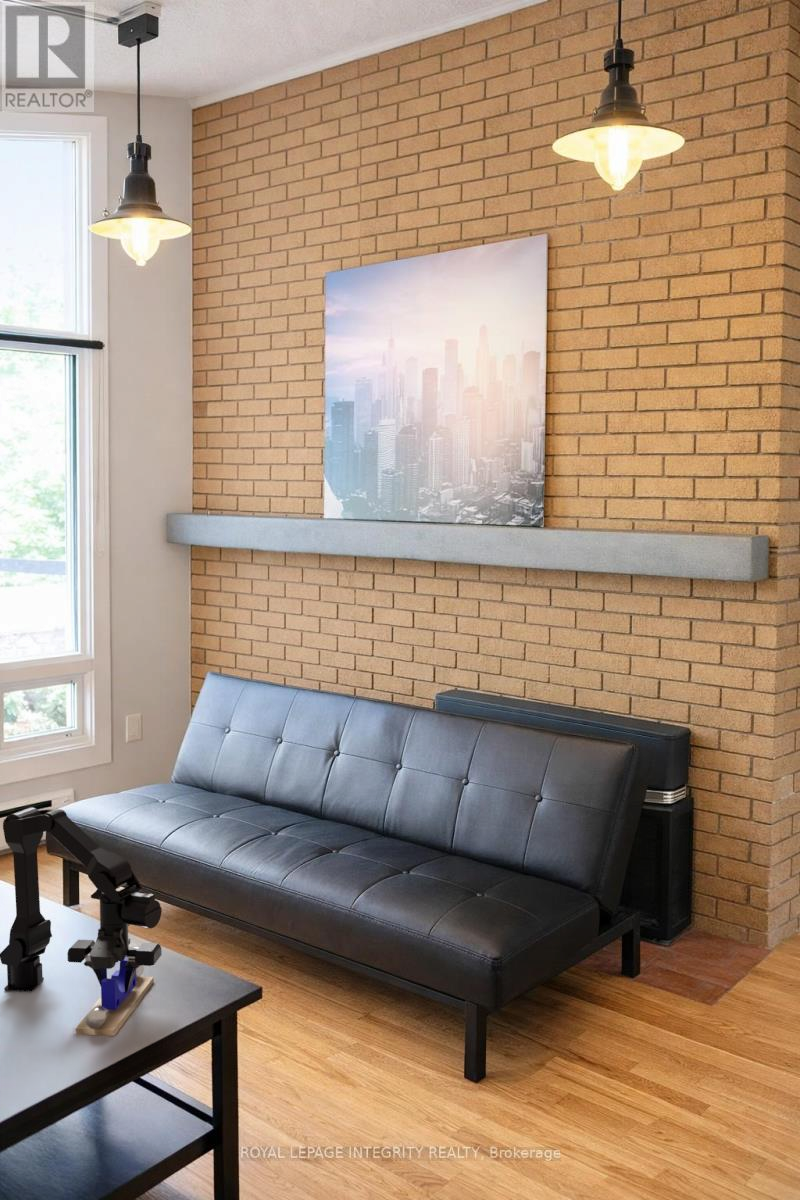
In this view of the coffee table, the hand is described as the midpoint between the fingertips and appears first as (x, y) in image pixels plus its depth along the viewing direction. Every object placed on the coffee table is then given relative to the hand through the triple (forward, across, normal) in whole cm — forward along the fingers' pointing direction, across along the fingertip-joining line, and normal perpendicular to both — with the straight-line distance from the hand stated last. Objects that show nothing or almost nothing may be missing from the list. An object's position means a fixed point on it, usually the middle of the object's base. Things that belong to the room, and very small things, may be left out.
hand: (115, 991), depth 239 cm
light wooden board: (+3, 0, 0) cm, 3 cm away
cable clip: (+1, 0, 0) cm, 1 cm away
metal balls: (+2, 0, 0) cm, 2 cm away
